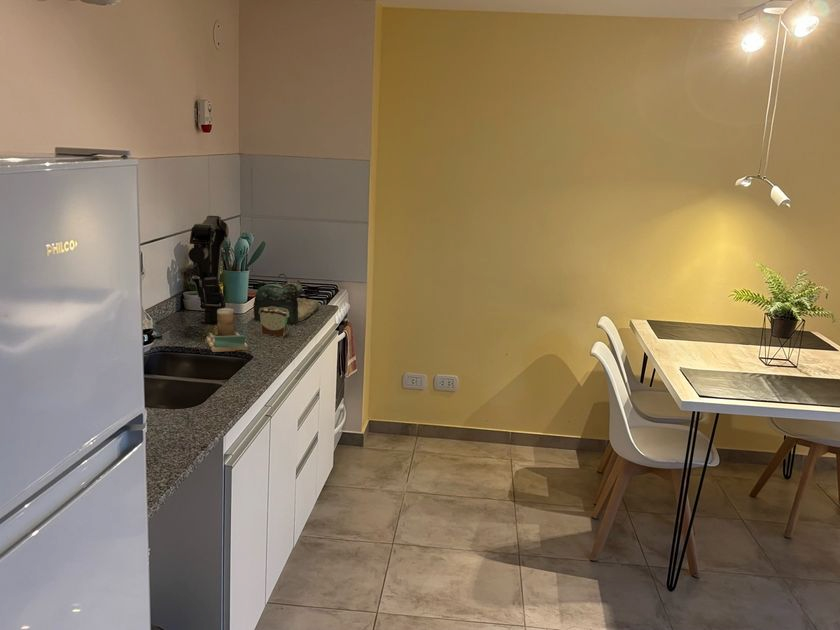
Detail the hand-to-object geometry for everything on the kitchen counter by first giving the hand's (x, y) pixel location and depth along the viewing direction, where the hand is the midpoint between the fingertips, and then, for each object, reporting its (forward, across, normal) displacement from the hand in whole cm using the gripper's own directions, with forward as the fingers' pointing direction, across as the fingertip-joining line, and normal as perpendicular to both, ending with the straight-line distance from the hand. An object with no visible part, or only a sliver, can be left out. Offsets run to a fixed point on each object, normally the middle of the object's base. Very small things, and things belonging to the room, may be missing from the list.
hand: (203, 299), depth 288 cm
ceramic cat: (+13, -7, +32) cm, 35 cm away
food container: (+13, +12, +24) cm, 30 cm away
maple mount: (+12, +21, +2) cm, 25 cm away
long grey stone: (+14, -19, +48) cm, 54 cm away
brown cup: (+10, +18, +3) cm, 21 cm away
